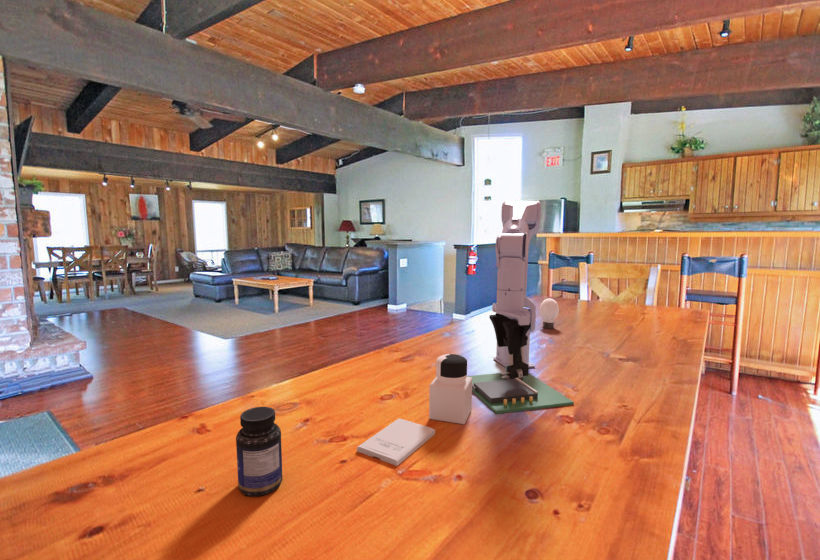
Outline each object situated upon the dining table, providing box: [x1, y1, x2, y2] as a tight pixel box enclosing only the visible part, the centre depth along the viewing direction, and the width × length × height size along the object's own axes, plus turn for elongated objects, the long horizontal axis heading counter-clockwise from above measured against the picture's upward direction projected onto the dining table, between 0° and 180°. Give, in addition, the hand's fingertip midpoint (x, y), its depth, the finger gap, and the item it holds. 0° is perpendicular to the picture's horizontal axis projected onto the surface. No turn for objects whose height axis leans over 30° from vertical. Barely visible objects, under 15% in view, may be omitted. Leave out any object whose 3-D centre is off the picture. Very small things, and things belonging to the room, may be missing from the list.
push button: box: [500, 335, 530, 379], centre depth 94 cm, size 7×5×10 cm
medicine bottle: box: [428, 353, 473, 425], centre depth 85 cm, size 7×7×12 cm
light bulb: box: [539, 297, 560, 329], centre depth 158 cm, size 7×7×11 cm
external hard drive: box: [356, 418, 436, 467], centre depth 75 cm, size 2×8×12 cm
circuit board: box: [467, 372, 575, 415], centre depth 98 cm, size 20×18×2 cm
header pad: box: [474, 378, 538, 404], centre depth 95 cm, size 9×11×2 cm
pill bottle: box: [235, 406, 283, 497], centre depth 61 cm, size 6×6×11 cm
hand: (508, 350), depth 94 cm, fingers closed on push button, 5 cm apart
